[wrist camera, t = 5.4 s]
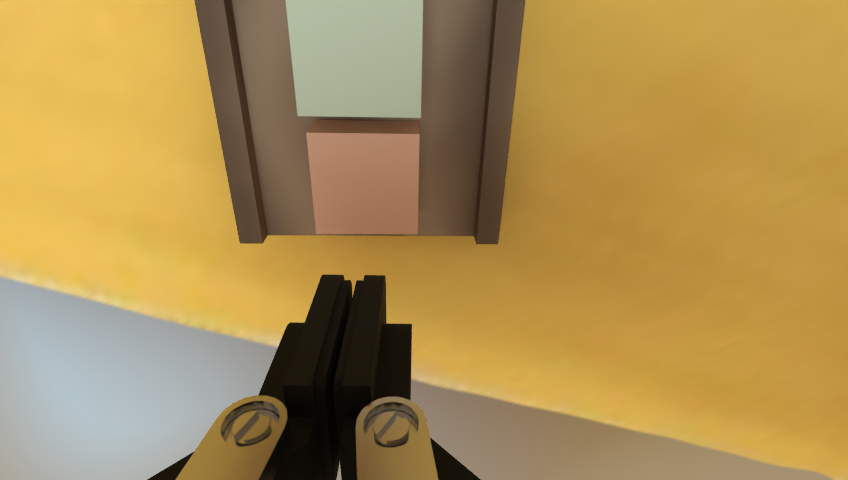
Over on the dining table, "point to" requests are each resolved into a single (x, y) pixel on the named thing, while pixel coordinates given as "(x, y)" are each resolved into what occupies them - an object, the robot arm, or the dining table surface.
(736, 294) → the dining table surface
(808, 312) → the dining table surface
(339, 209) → the key terracotta
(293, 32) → the key sage
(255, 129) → the key board
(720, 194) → the dining table surface
